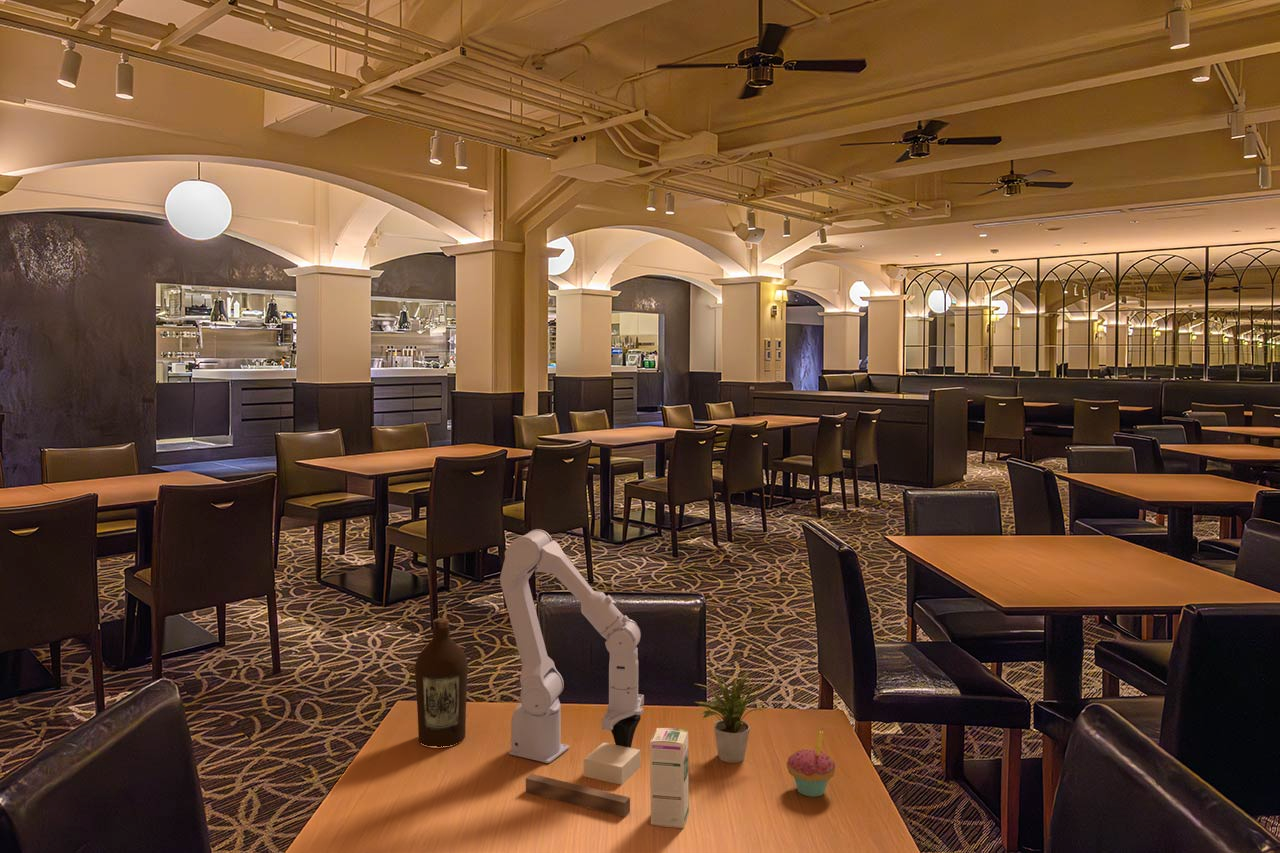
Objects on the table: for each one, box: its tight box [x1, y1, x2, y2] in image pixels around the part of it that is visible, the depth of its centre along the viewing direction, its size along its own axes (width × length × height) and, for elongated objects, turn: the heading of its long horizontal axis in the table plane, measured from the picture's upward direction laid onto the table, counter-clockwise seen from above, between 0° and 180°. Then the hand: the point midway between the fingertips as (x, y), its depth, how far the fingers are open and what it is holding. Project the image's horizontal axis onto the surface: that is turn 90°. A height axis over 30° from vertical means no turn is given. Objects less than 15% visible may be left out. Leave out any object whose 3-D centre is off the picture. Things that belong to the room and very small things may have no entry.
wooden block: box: [583, 742, 642, 786], centre depth 157 cm, size 8×8×4 cm
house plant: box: [695, 671, 765, 764], centre depth 164 cm, size 14×14×16 cm
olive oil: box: [414, 617, 469, 747], centre depth 171 cm, size 11×11×25 cm
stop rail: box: [525, 773, 631, 818], centre depth 146 cm, size 20×2×2 cm, turn 64°
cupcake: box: [786, 727, 836, 798], centre depth 149 cm, size 9×8×12 cm
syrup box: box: [649, 727, 690, 829], centre depth 140 cm, size 6×6×14 cm
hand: (623, 752), depth 162 cm, fingers closed
